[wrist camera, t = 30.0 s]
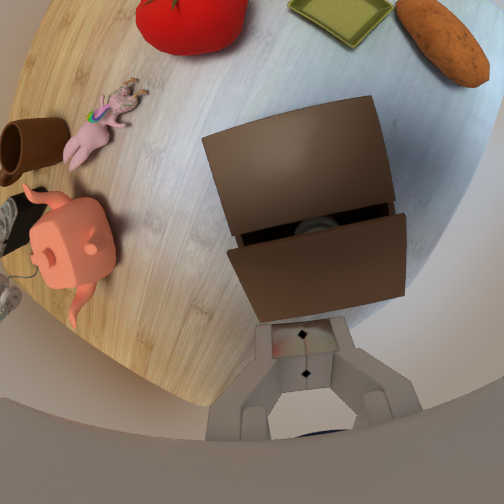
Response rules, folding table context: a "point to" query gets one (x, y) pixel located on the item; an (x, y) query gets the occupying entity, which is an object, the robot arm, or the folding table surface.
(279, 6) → the folding table surface
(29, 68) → the folding table surface
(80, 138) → the pink animal figure
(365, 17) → the olive green tray
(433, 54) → the potato
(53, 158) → the mug
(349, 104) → the carton
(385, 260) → the flap
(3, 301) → the headphones
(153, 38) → the tomato
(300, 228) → the pill bottle
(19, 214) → the camera
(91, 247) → the teapot
